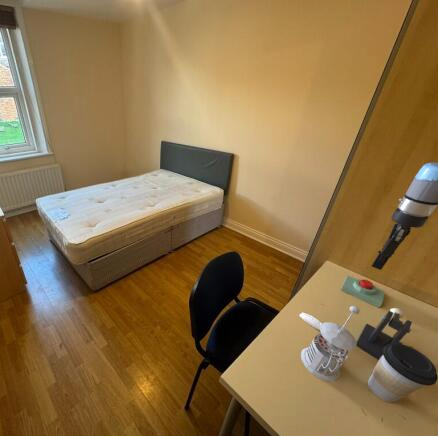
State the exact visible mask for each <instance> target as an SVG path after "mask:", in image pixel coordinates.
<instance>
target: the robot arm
mask: <svg viewBox="0 0 438 436" xmlns="http://www.w3.org/2000/svg"><path fill="white" fill-rule="evenodd" d="M398 201H399V204H398V205H397V208H395V210H394V211H393V213H392V215H391V217H390V218H391V220H392V221H393V222H394V224H393V226H392V229H391V231H390V233H389V236H388V237H387V239H386V241H385V243H384V244H383V245H382V248H381V250H378V251H377V254H378V255H377V257H376V258H375V259H374V261H373V262H372V263H371V268H374V269H377V270H380V271H382V269H383V268H384V266H385V265H386V263H387V262H388V260H389V259H390V258H391V257H393V255H395V252H396V251H397V250H398V248H399V246H400V245H401V244H402V243H403V242H404V241H405V239H406V237H408V236H409V235H410V233H411V229H412V228H416V229H417V228H422V227H423V226H424V225H425V224H426V222H427V221H428V219H429V217H430V216H432V214H433V213H434V211H435V210H436V208H438V162H428V163H425V164H423V166H421V168H420V169H419V171H418V172H417V174H416V175H415V176H414V178H413V180H412V182H411V184H410V185H409V187H408V189H407V191H406V192H405V194H404V196H403V197H402V198H399V199H398Z"/></svg>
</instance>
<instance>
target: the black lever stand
mask: <svg viewBox="0 0 438 436" xmlns="http://www.w3.org/2000/svg"><path fill="white" fill-rule="evenodd" d="M392 315H393V312H391V311H390V310H388V311H387V313H386V314H384V315H382V316H381V318H380V322H379V323H378V324H377V325H376V326H375V327H374V326H372V325H371V324H368V323H366V324H365V326H364V327H363V329H362V331H361V333H360V335H359V336H358V338H357V340H356V342H357V345H356V348H359V349H360V350H362V351H363V352H365V353H366V354H368V355H370V356H371V357H373V358H374V359H376V360H378V361H379V360H380V358H381V356H382V355H383V348H384V347H385V346H387V345H389V344H403V345H404V343H403V342H401V340H402V339H403V338H404V337H405V336H406V335H407V334H410V332H411V331H412V328H411V326H412V323H413V321H411V320H409V319H407V320H405V322H403V325H402V327H401V328H400V329H399V331H397V330H396V332H395V333H394V335H393V336H390V335H388V334H387V333H385V332H383V330H384V329H385V328H386V326H387V325H389V322H390V321H391V319H392V318H393V316H392Z"/></svg>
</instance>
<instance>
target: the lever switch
mask: <svg viewBox="0 0 438 436" xmlns="http://www.w3.org/2000/svg"><path fill="white" fill-rule="evenodd" d="M389 311H391V312H393V315H392V317H391V320H390V321H389V323H388V324H387V325H388V327H389V328H391V329H393V330H395V331H396V332H397V331H399V329H400V328H401V327H402V325H403V324H404V321H403V320H400V319H403V318H404V316H405V314H404V311H403V310H401V309H400V308H397V307H394V308H393V307H392V308H390V310H389Z"/></svg>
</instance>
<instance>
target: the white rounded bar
mask: <svg viewBox="0 0 438 436" xmlns="http://www.w3.org/2000/svg"><path fill="white" fill-rule="evenodd" d="M299 318H301V320H303V321H304V322H305V323H306V324H308V325H310V326H311V327H313V328H314V329H316V330H318V331H320V326H321V324H323V323H324V322H322V321H321V320H319V319H318V318H316V317H315V316H313V315H311V314H308V313H307V312H306V313H305V312H301V313H300V314H299Z"/></svg>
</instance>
